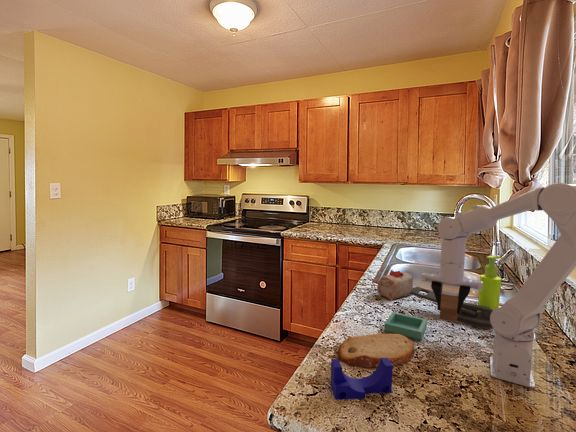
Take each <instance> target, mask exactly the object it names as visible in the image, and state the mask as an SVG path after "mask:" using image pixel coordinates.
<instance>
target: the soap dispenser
mask: <svg viewBox="0 0 576 432" xmlns="http://www.w3.org/2000/svg"><path fill="white" fill-rule="evenodd" d="M503 258H504V257H503V256H498V255H492V254H491V255H487V256H486V259H488V264H487V265H484V267H485V268H484V274H480V275H479V281H482V282H483V284H482V291H481V290H478V298H477V299H478V300H477V302H478V303H477V305H480V306H485V307H489V308H491V309H492V310H495V309H497V308H500V298H501V287H502V286H501V285H502V278H501V277H500V276H498V266H496V260H497V259H502V260H503ZM479 312H481V311H479Z"/></svg>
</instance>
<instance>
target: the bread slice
mask: <svg viewBox="0 0 576 432" xmlns="http://www.w3.org/2000/svg"><path fill="white" fill-rule="evenodd" d="M415 351H416V349H415V345H414V343H413V342H412V340H410V338H407V337H405V336H403V335H400V334H391V333H376V334H374V333H373V334H372V333H371V334H365V335H357V336H349V337H348V338H347V339H345V340H343V341H342V343H341V344H340V345H339V347H338V349H337V359H339V362H342V363H343V364H345V365H347V366H350V367H359V368H364V369H369V370H370V369H371V370H372V369H374V370H376V369H377V367H378V365H379V362H380V358H388V360H389V361H390V362H391V364H392V365H393V367H396V366H399V365H401V364H405V363H407V362H408V361H410V360H411V359H412V358H413V357H414V356H415Z"/></svg>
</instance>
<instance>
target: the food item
mask: <svg viewBox="0 0 576 432" xmlns="http://www.w3.org/2000/svg"><path fill="white" fill-rule="evenodd" d="M413 280H414V278H413V276H412V274H410V273H408V272H405V271H400V270H397V271H395V270H392V269H390V271H389V274H386V275H383V276H381V277H380V278H379V280H377V290H376V292H377V294H379V295H381V296H382V297H384V298H385V299H388V300H391V301H393V300H396V299H399V298H403V297H407V296H409V295H410V294H411V290H412V289H413V288H414V287H413V286H414V281H413Z"/></svg>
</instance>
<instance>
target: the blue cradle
mask: <svg viewBox="0 0 576 432" xmlns="http://www.w3.org/2000/svg"><path fill="white" fill-rule="evenodd" d="M330 363H331V364H330V385H329V386H330V389H331V391H332V394H333V397H334V400H336V401H340V400H342V401H343V400H365V399H366V395H367V394H369V395H370V394H391V393H392V389H393V387H392V386H393V372H394V371H393V370H394V366H393V365H392V364H391V362H390V361H389V360H388V358H380V362H379V365H378V367H377V369H374V371H373V372H372V373H370V374H369V375H368V376H365V377H363V378H354V377H350V376H349V375H347V374H345V372H343V366H342V364H341V361H340V360H339V359H338V358H333V359H332V358H331V359H330Z"/></svg>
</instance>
